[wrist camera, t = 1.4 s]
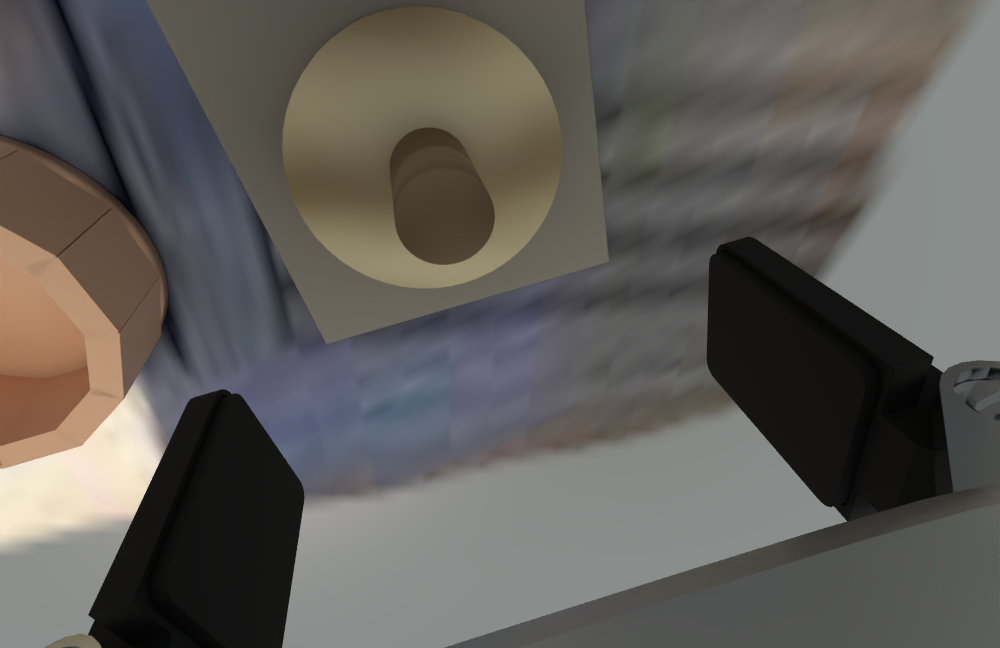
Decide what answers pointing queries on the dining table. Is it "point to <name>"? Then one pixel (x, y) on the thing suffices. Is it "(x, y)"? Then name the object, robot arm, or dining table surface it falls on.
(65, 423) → the bowl
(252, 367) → the dining table surface
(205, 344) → the dining table surface
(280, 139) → the mat
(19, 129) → the dining table surface
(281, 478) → the robot arm
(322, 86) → the lid
